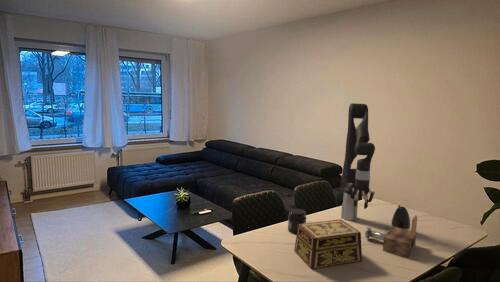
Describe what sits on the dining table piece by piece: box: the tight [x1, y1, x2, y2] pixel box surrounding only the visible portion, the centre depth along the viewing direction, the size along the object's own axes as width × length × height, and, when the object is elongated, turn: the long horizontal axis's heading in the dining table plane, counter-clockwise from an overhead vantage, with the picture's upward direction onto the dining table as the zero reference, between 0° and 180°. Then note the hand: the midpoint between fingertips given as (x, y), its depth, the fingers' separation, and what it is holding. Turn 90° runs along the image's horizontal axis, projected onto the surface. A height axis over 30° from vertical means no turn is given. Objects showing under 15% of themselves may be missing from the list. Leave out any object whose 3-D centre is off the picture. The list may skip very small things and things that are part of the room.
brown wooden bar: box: [364, 226, 387, 241], centre depth 173 cm, size 17×6×6 cm, turn 52°
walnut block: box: [382, 226, 417, 259], centre depth 168 cm, size 12×18×8 cm
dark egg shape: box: [390, 205, 411, 230], centre depth 189 cm, size 10×10×15 cm
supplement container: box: [287, 208, 307, 235], centre depth 187 cm, size 10×10×12 cm
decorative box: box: [293, 219, 363, 270], centre depth 157 cm, size 28×19×15 cm
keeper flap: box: [410, 214, 418, 239], centre depth 163 cm, size 1×8×10 cm, turn 142°
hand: (360, 207), depth 179 cm, fingers open, 4 cm apart
